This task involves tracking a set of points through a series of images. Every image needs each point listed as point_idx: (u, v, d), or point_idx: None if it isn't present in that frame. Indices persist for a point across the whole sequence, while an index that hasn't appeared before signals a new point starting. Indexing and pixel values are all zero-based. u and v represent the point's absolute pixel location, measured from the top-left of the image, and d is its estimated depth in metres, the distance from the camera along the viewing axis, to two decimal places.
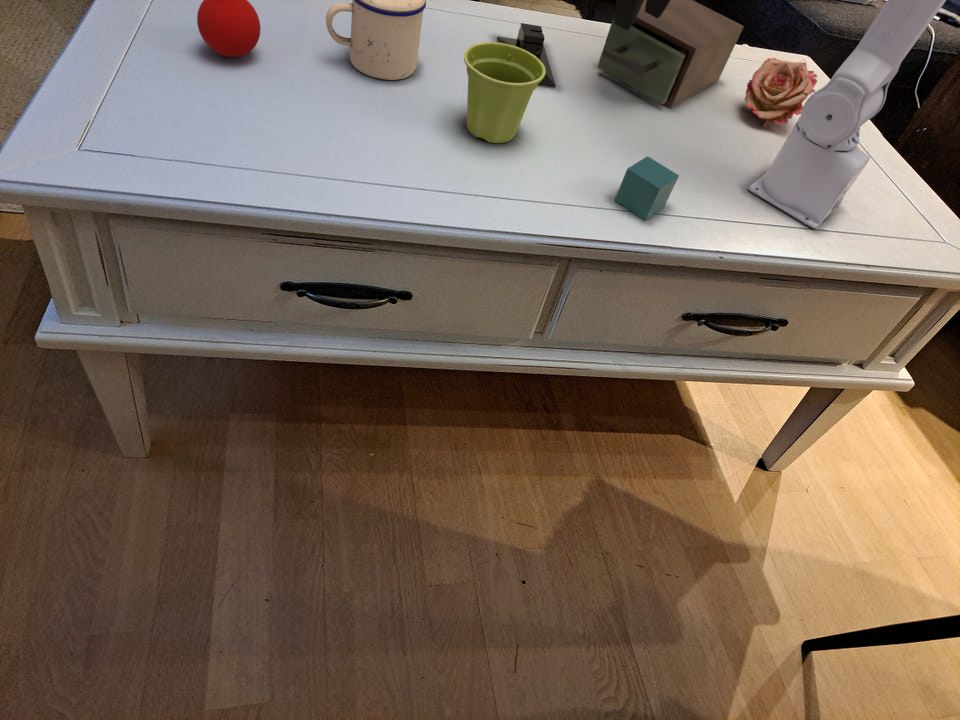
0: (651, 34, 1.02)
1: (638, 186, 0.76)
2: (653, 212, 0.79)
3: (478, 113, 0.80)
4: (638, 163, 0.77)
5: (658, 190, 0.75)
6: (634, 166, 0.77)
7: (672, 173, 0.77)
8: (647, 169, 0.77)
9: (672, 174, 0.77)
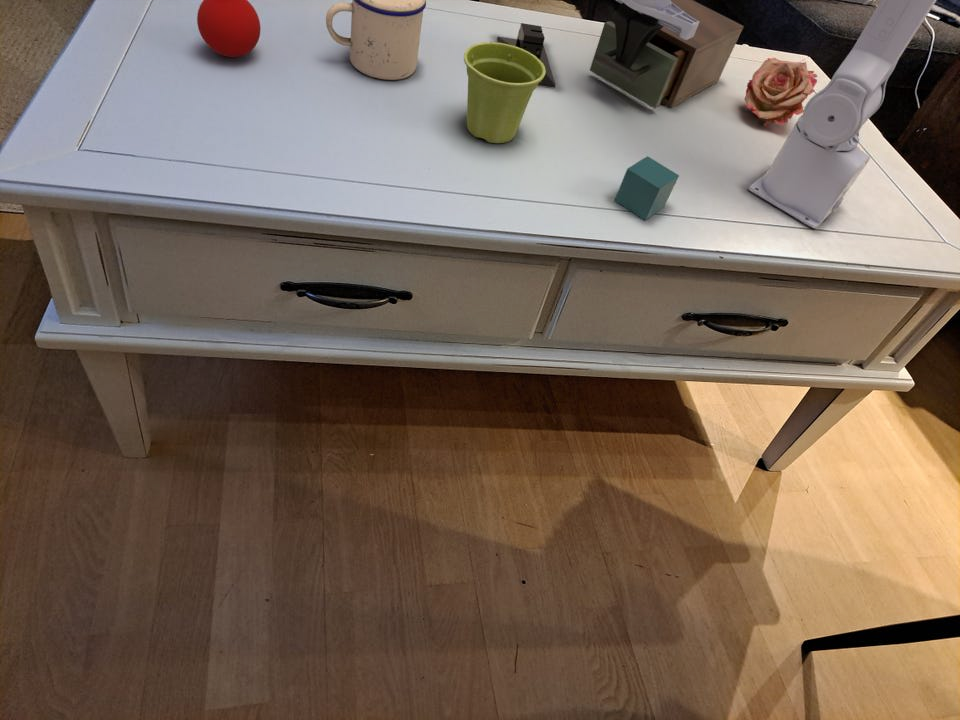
0: None
1: (638, 186, 0.76)
2: (653, 212, 0.79)
3: (478, 113, 0.80)
4: (638, 163, 0.77)
5: (658, 190, 0.75)
6: (634, 166, 0.77)
7: (672, 173, 0.77)
8: (647, 169, 0.77)
9: (672, 174, 0.77)
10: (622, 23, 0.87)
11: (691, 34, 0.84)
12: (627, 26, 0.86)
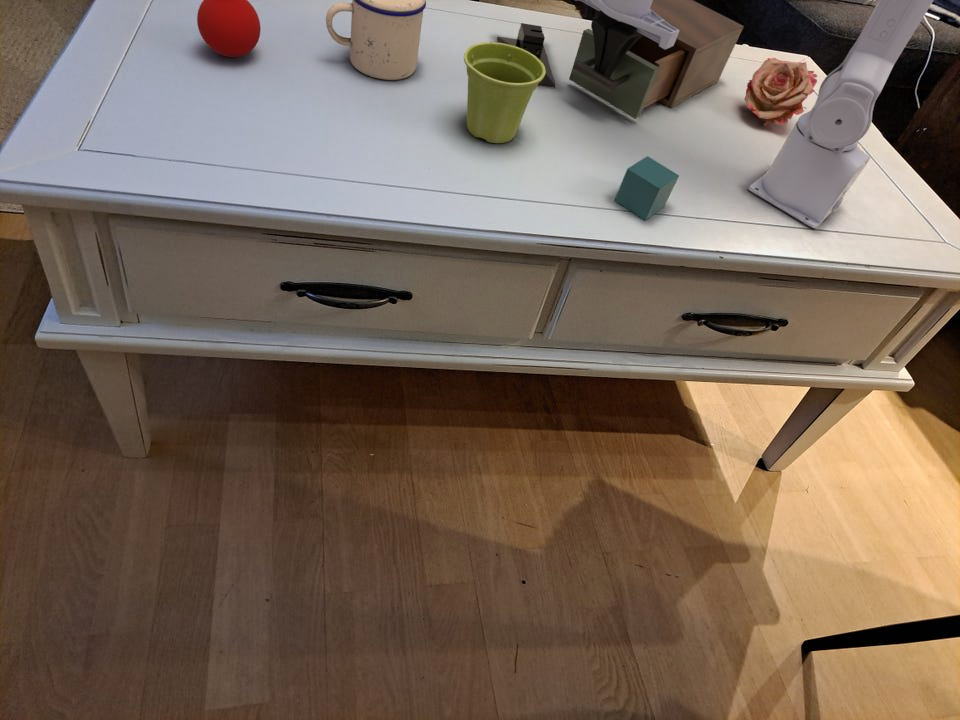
0: None
1: (638, 186, 0.76)
2: (653, 212, 0.79)
3: (478, 113, 0.80)
4: (638, 163, 0.77)
5: (658, 190, 0.75)
6: (634, 166, 0.77)
7: (672, 173, 0.77)
8: (647, 169, 0.77)
9: (672, 174, 0.77)
10: (600, 32, 0.84)
11: (671, 43, 0.81)
12: (605, 34, 0.84)
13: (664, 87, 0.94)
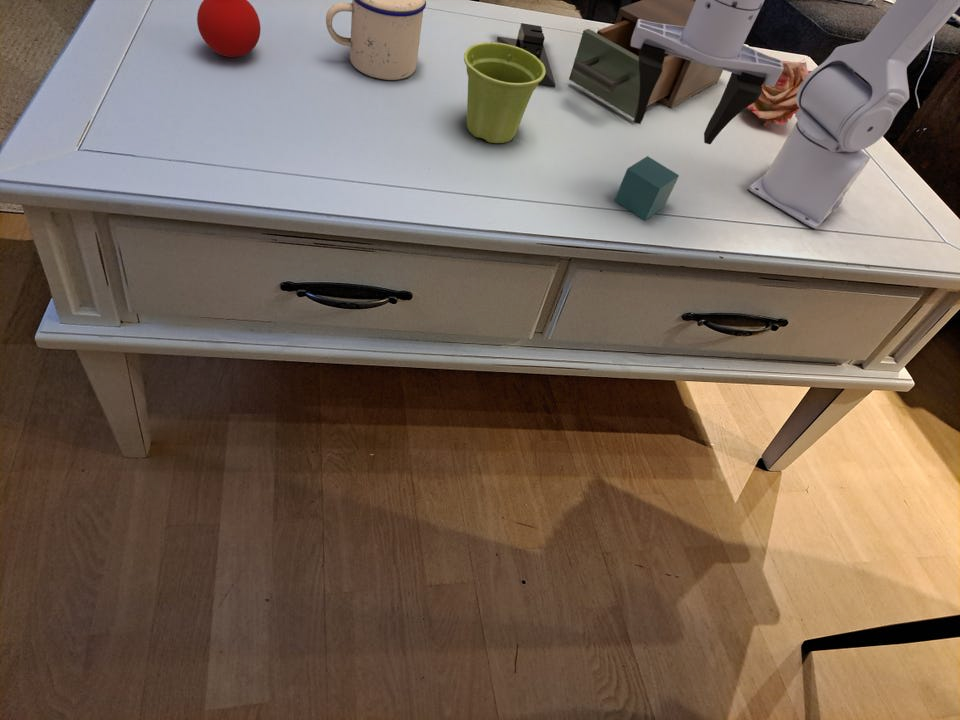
0: (626, 44, 0.98)
1: (638, 186, 0.76)
2: (653, 212, 0.79)
3: (478, 113, 0.80)
4: (638, 163, 0.77)
5: (658, 190, 0.75)
6: (634, 166, 0.77)
7: (672, 173, 0.77)
8: (647, 169, 0.77)
9: (672, 174, 0.77)
10: (653, 73, 0.67)
11: None
12: (660, 74, 0.67)
13: (664, 87, 0.94)
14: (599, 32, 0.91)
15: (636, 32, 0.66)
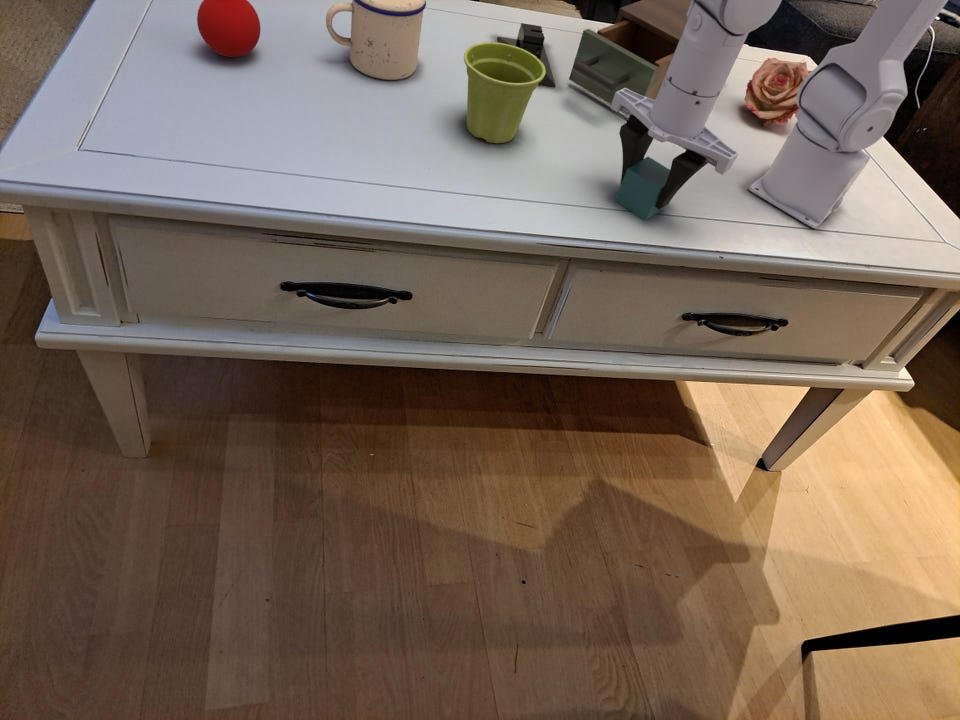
0: (626, 44, 0.98)
1: (638, 186, 0.76)
2: (653, 212, 0.79)
3: (478, 113, 0.80)
4: (638, 163, 0.77)
5: (659, 190, 0.75)
6: (634, 166, 0.77)
7: None
8: (647, 169, 0.77)
9: None
10: None
11: None
12: None
13: None
14: (599, 32, 0.91)
15: (735, 157, 0.71)
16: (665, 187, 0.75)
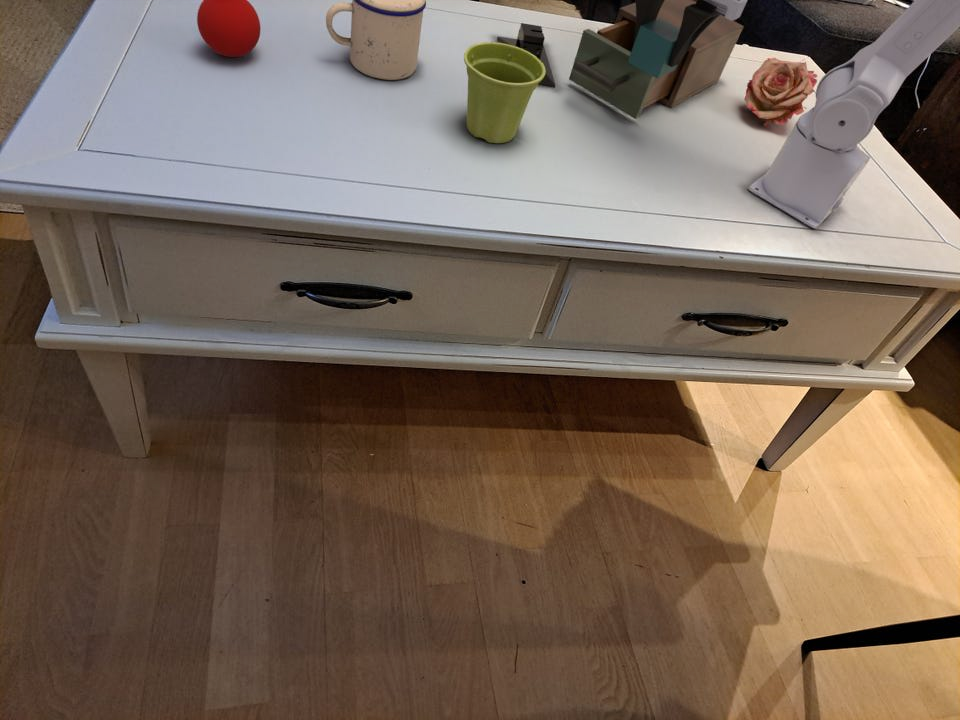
0: (626, 44, 0.98)
1: (651, 43, 0.80)
2: (665, 71, 0.82)
3: (478, 113, 0.80)
4: (651, 22, 0.81)
5: (671, 44, 0.79)
6: (647, 24, 0.80)
7: None
8: (659, 27, 0.80)
9: None
10: None
11: None
12: None
13: (664, 87, 0.94)
14: (599, 32, 0.91)
15: (744, 4, 0.74)
16: (677, 41, 0.79)
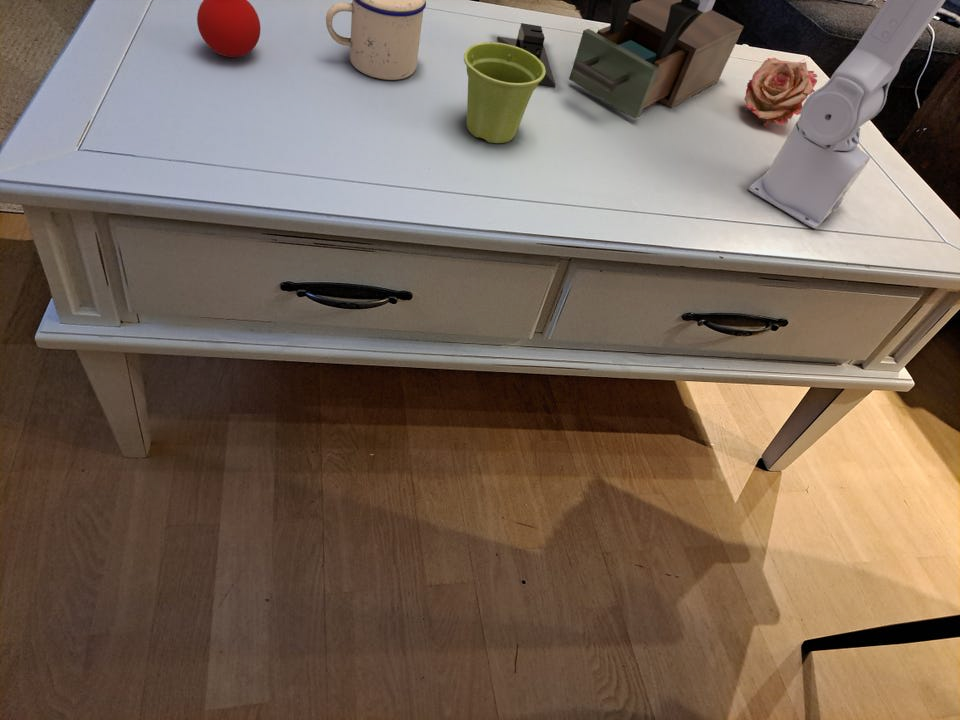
0: None
1: None
2: None
3: (478, 113, 0.80)
4: (622, 44, 0.92)
5: None
6: None
7: (651, 52, 0.92)
8: (629, 48, 0.92)
9: (651, 53, 0.92)
10: None
11: None
12: None
13: (664, 87, 0.94)
14: (599, 32, 0.91)
15: None
16: (664, 36, 0.87)
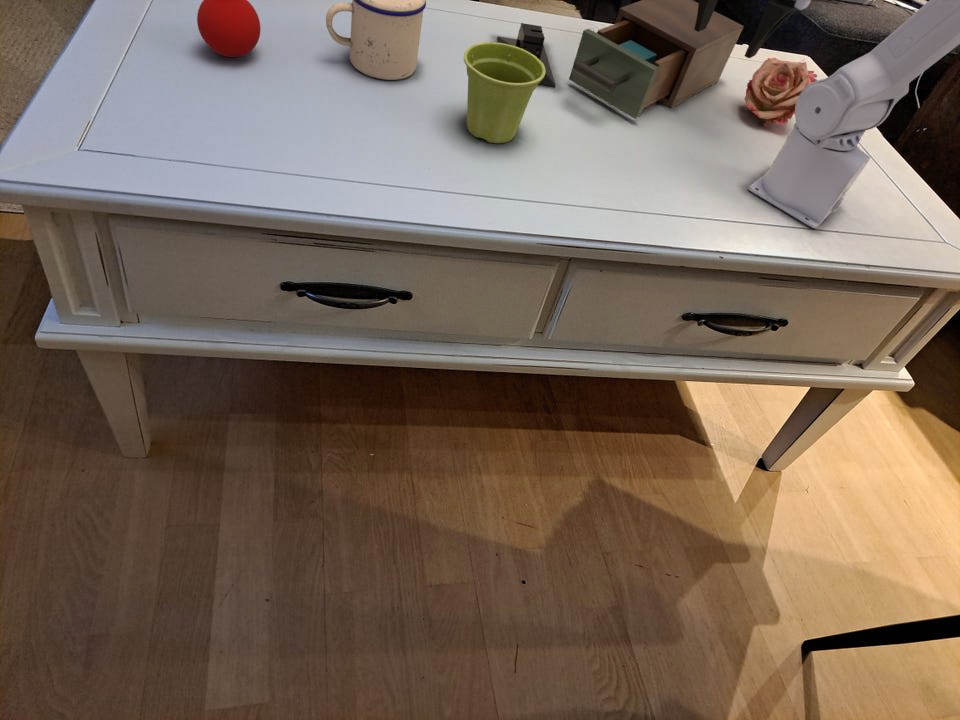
0: None
1: None
2: None
3: (477, 113, 0.80)
4: (622, 44, 0.92)
5: None
6: None
7: (651, 52, 0.92)
8: (629, 48, 0.92)
9: (651, 53, 0.92)
10: None
11: None
12: None
13: (664, 87, 0.94)
14: (599, 32, 0.91)
15: None
16: (756, 34, 0.85)
